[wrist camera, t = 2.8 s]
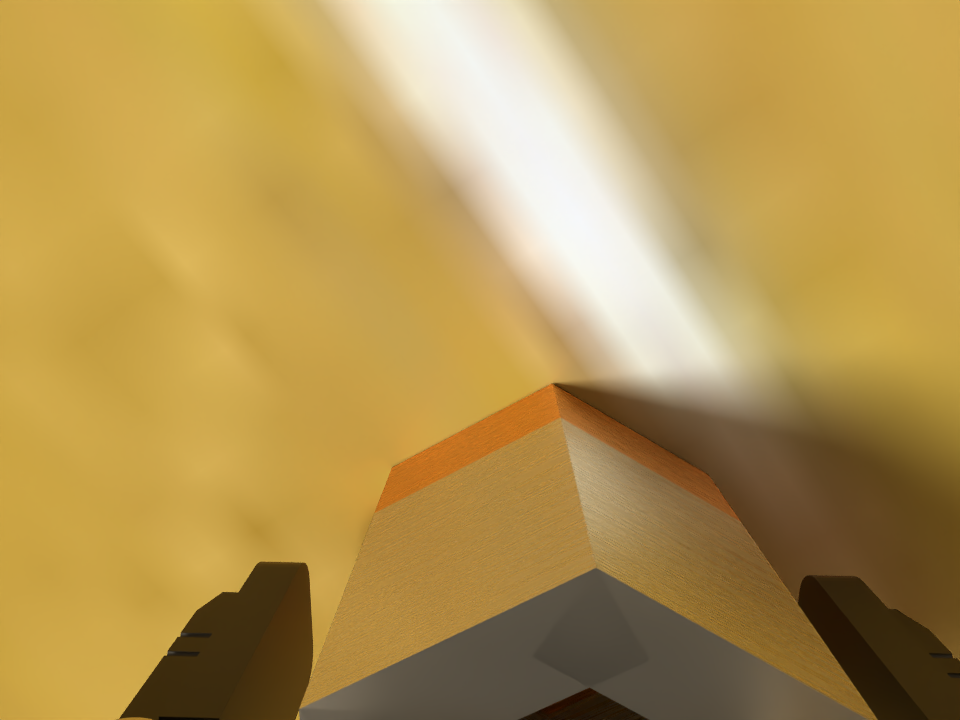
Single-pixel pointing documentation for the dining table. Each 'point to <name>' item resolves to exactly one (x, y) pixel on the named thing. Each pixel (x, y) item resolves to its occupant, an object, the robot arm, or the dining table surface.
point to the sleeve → (566, 589)
